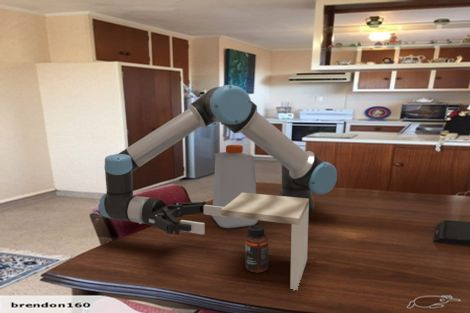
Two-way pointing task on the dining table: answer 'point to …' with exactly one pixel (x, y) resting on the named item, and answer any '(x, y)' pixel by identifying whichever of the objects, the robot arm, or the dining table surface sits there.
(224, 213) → the cream l-shaped stand
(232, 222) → the plastic bottle
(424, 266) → the dining table surface
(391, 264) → the dining table surface
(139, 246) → the dining table surface
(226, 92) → the robot arm
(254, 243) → the supplement bottle
